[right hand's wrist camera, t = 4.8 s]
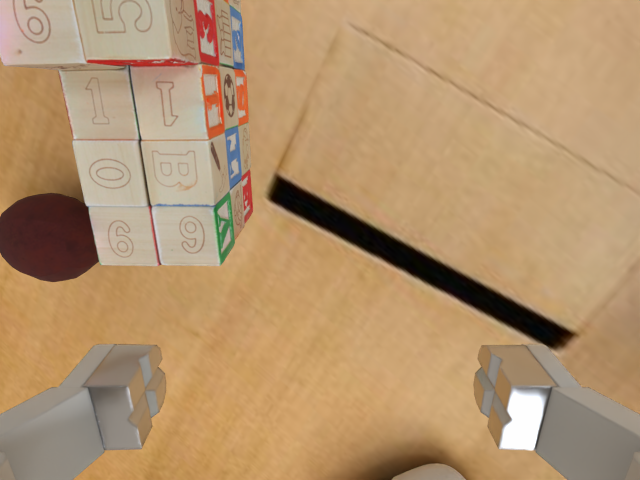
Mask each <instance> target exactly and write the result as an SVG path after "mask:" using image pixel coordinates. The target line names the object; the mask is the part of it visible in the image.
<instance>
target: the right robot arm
mask: <svg viewBox="0 0 640 480" xmlns="http://www.w3.org/2000/svg"><path fill="white" fill-rule="evenodd" d="M161 361H162V355H161V350H160V347H158V346H157V345H138V344H118V345H117V344H98V345H95V346H93V347H92V348H91V349H90V351H89V352H88V353H87V354H86V355H85V356H84V358H83V359H82V360H81V361H80V362H79V363H78V365H77V366H76V367H75V368H74V369H73V370H72V372H71V373H70V374H69V375H68V376H67V378H66V379H65V380H64V381H63V382H62V383H61V385H60V386H59V387H51V388H49V389H48V390H46V391H44V392H42V393H40V394H38V395H36V396H34V397H32V398H30V399H28V400H27V401H25V402H23V403H21V404H19V405H17V406H15V407H13V408H11V409H9V410H7V411H6V412H4V413H2V414H0V480H73V479H74V478H75V477H76V476H77V475H79V474H80V473H81V472H82V471H83V470H84V469H86V468H87V467H88V466H89V465H90V464H91V463H92V462H94V461H95V460H96V459H97V458H98V457H99V456H101V455H102V454H103V453H104V450H129V449H142V447H143V445H144V443H145V441H146V438H147V436H148V434H149V432H150V430H151V428H152V421H151V418H152V417H153V416H154V415H156V414H157V413H159V412H160V409H161V407H162V405H163V403H164V398H165V394H166V377H165V373H164V372H163V371H162V370H161V369H160V368H159V367H158V366H159V364H160V362H161ZM478 361H479V362H480V364H481V366H482V367H481V368H480V369H479V370H478V371H477V372H476V373H475V378H474V395H475V399H476V402H477V405H478V407H479V409H480V412H481V413H483V414H484V415H486V416H487V417H488V418H489V421H488V428H489V430H490V432H491V434H492V436H493V438H494V440H495V443H496V445H497V447H498V449H511V450H536V453H537V454H538V455H540V456H541V457H542V458H543V459H544V460H545V461H547V462H548V463H549V464H550V465H551V466H552V467H553V468H555V469H556V470H557V471H558V472H559V473H560V474H562V475H563V476H564V477H565V478H566V479H567V480H640V414H638V413H636V412H634V411H632V410H630V409H629V408H627V407H625V406H623V405H621V404H619V403H617V402H615V401H613V400H611V399H610V398H608V397H606V396H604V395H602V394H600V393H598V392H596V391H594V390H592V389H590V388H589V387H581V386H580V385H579V383H578V382H577V381H576V380H575V379H574V378H573V376H572V375H571V374H570V373H569V372H568V371H567V369H566V368H565V367H564V366H563V365H562V364H561V362H560V361H559V360H558V359H557V358H556V357H555V355H554V354H553V353H552V352H551V351H550V349H549V348H548V347H547V346H545V345H543V344H522V345H482V346H481V348H480V350H479V354H478Z"/></svg>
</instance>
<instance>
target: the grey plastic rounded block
mask: <svg viewBox="0 0 640 480" xmlns="http://www.w3.org/2000/svg"><path fill="white" fill-rule="evenodd" d="M392 480H466V479H465V478H464V477H463V476H462V475H461V474H460V473H459V472H457V471H456V470H455V469H454V468H452V467H450V466H448V465H445V464H440V463H435V464H427V465H423V466H420V467H417V468H414V469H411V470H409V471H406V472H404V473H402V474H400V475H397V476H395V477H393V479H392Z"/></svg>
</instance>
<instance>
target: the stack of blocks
mask: <svg viewBox="0 0 640 480" xmlns="http://www.w3.org/2000/svg"><path fill="white" fill-rule="evenodd" d="M0 56H1V60H2V62H3V64H4V66H16V67H30V68H43V69H52V70H58V71H59V77H60V81H61V85H62V90H63V95H64V99H65V104H66V108H67V113H68V118H69V122H70V127H71V132H72V136H73V141H72V145H73V150H74V154H75V159H76V164H77V168H78V173H79V178H80V182H81V187H82V191H83V196H84V201H85V204H86V206H88V207H89V216H90V221H91V226H92V230H93V234H94V240H95V245H96V248H97V254H98V259H99V262H100V264H101V265H118V266H159V265H177V266H195V265H196V266H220V265H221V264H222V263H223V262H224V260H225V258H226V257H227V255H228V254H229V252H230V251H231V249H232V248H233V246H234V244H235V239H236V238H237V237H238V235H239V233H240V232H241V230H242V229H243V228H244V224H245V223H246V221H247V220H248V219H249V217H250V216H251V214H252V212H253V204H252V190H251V177H250V168H251V153H250V136H249V124H248V119H249V118H248V97H247V80H246V72H245V70H244V68H245V66H244V48H243V28H242V17H241V0H0Z"/></svg>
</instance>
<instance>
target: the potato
mask: <svg viewBox="0 0 640 480" xmlns="http://www.w3.org/2000/svg"><path fill="white" fill-rule="evenodd" d="M0 253H1V255H2V257H3V258H4V259H5V260H6V261H7V262H8V263H9V264H10V265H11V266H12V267H13V268H15V269H16V270H18V271H20V272H22V273H24V274H27V275H30V276H32V277H35V278H37V279H39V280H44V281H50V282H57V281H64V280H69V279H74V278H77V277H78V276H80V275H82V274H83V273H85V272H86V271H88V270H89V269H90V268H91V267H92V266H94V265H95V264H96V263H97V262H98V261H99V259H98V254H97V248H96V245H95V240H94V234H93V230H92V226H91V221H90V216H89V207H88V206H86V205H85V204H83V203H82V202H80V201H79V200H77V199H75V198H72V197H68V196H65V195H61V194H55V193H47V194H38V195H33V196H29V197H26V198H23V199H21V200H19V201H17V202H15V203H14V204H13V205H12V206H10V207H9V208H8V209H7V210H5V211H4V212H3V213H2V214H1V216H0Z"/></svg>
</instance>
